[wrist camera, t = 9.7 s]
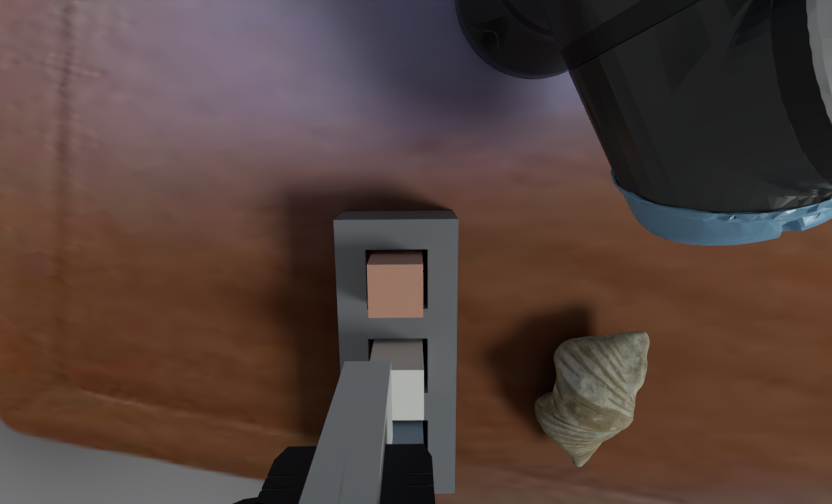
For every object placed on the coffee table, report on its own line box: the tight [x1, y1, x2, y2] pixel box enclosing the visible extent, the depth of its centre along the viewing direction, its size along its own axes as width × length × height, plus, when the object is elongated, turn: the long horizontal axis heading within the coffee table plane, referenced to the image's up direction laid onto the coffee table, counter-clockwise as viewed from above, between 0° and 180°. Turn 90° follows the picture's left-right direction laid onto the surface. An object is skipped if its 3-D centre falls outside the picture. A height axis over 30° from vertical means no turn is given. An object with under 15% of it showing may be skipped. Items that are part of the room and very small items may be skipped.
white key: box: [370, 338, 424, 420], centre depth 42 cm, size 5×5×7 cm
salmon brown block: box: [367, 249, 423, 318], centre depth 41 cm, size 5×5×7 cm
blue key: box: [392, 420, 424, 444], centre depth 45 cm, size 5×5×7 cm
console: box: [333, 210, 458, 494], centre depth 46 cm, size 28×11×6 cm, turn 0°
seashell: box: [534, 331, 649, 467], centre depth 47 cm, size 14×9×10 cm
